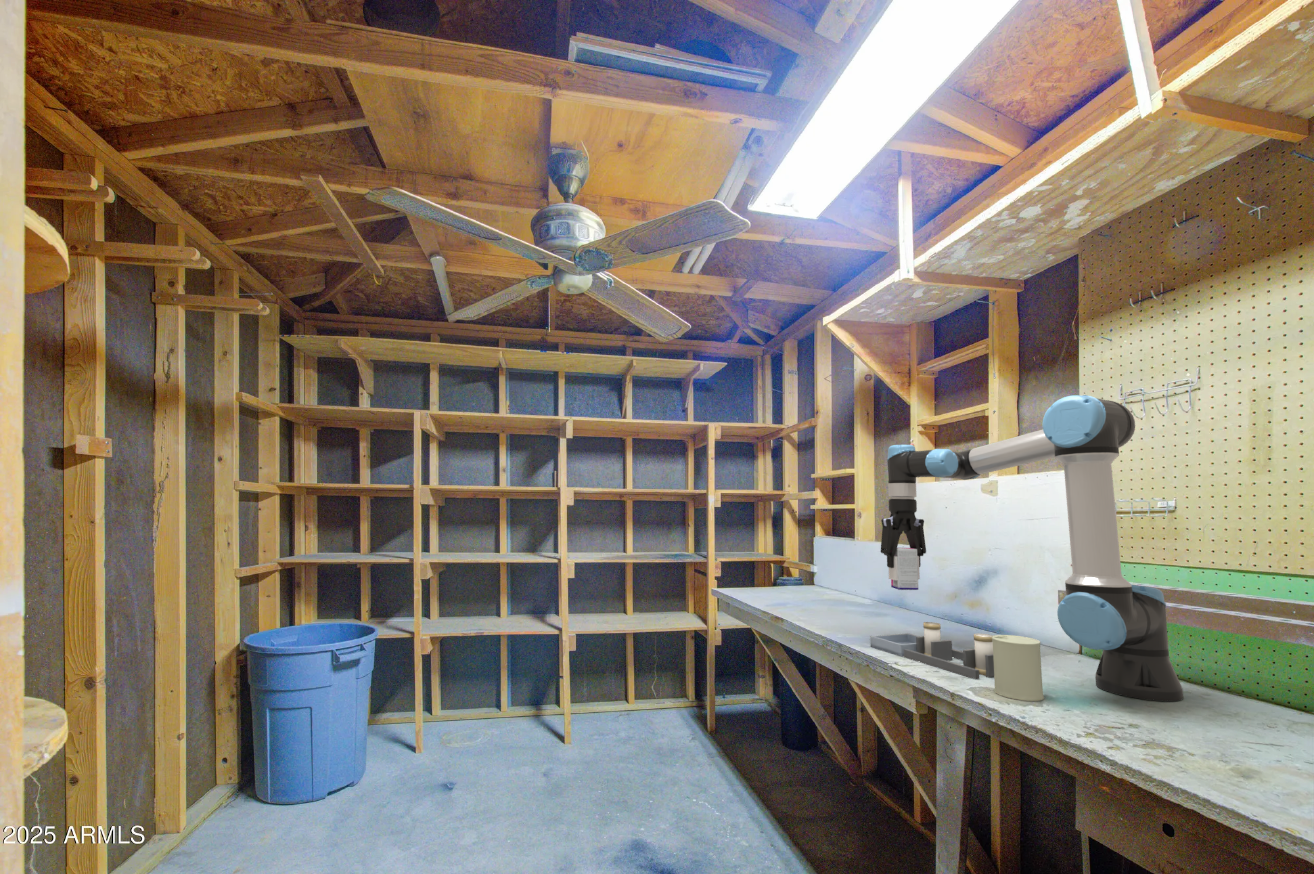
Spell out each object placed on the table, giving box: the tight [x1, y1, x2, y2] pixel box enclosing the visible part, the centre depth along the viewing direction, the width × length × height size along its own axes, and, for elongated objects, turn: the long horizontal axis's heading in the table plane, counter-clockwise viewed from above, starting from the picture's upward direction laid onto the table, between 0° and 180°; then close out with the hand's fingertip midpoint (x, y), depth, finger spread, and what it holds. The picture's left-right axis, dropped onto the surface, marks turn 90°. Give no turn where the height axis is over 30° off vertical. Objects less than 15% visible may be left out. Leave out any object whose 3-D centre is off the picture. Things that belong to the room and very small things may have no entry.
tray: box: [869, 632, 921, 658], centre depth 171 cm, size 12×14×3 cm
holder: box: [903, 635, 994, 680], centre depth 154 cm, size 22×14×5 cm, turn 22°
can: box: [992, 634, 1045, 702], centre depth 130 cm, size 9×9×12 cm
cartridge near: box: [973, 632, 993, 676], centre depth 147 cm, size 4×4×9 cm
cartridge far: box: [922, 621, 942, 656], centre depth 162 cm, size 4×4×9 cm
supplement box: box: [890, 547, 919, 591], centre depth 173 cm, size 6×6×12 cm
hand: (904, 578), depth 172 cm, fingers closed on supplement box, 7 cm apart
